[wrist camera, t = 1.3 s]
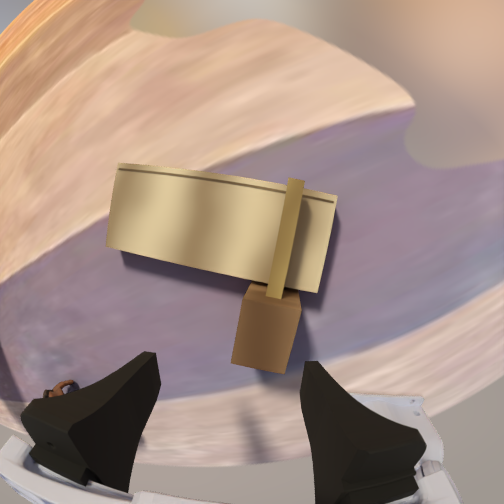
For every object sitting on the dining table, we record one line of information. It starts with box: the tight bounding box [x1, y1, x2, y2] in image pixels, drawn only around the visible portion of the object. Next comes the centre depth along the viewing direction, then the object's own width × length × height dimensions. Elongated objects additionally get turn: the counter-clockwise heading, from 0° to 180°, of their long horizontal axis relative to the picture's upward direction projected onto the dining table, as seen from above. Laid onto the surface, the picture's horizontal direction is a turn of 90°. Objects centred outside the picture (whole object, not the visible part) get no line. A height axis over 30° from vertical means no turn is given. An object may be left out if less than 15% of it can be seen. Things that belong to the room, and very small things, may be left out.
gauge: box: [231, 178, 305, 374], centre depth 19 cm, size 4×12×6 cm, turn 169°
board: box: [106, 163, 337, 293], centre depth 20 cm, size 17×7×2 cm, turn 79°
